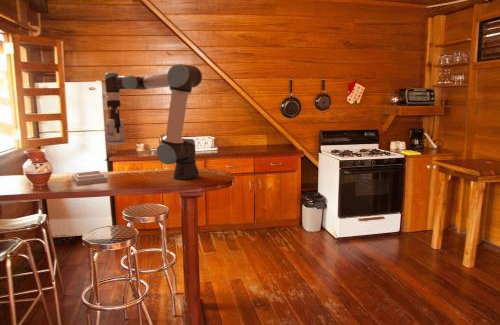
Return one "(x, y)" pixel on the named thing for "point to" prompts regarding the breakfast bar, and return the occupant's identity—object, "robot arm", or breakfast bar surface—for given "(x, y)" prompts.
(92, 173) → the base plate
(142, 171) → the breakfast bar surface
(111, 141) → the supplement tub
